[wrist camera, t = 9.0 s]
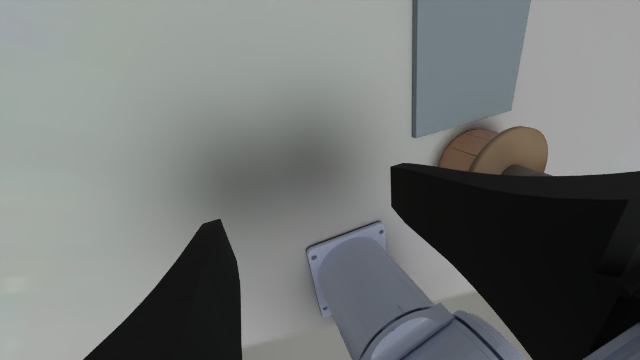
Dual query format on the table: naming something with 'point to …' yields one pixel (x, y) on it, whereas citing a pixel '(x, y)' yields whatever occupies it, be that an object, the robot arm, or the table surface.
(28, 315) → the table surface
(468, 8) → the mat
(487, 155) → the lid
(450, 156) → the bowl
